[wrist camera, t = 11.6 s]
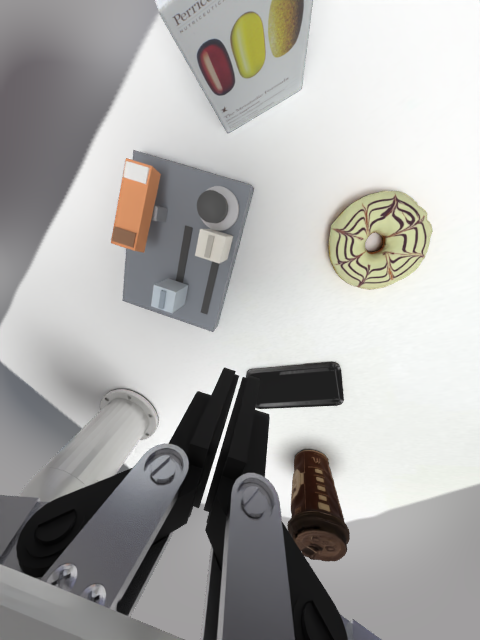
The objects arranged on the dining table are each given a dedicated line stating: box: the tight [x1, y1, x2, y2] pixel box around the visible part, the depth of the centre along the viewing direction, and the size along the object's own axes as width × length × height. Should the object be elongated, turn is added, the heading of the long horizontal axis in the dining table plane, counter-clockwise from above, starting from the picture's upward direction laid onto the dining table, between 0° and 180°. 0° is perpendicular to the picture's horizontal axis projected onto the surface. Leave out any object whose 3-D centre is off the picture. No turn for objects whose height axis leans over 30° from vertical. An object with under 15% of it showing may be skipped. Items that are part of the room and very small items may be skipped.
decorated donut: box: [329, 191, 432, 290], centre depth 27 cm, size 10×11×4 cm
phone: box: [246, 362, 344, 409], centre depth 38 cm, size 8×1×15 cm
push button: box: [197, 190, 228, 223], centre depth 26 cm, size 3×3×2 cm
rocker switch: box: [111, 158, 161, 253], centre depth 26 cm, size 9×3×2 cm, turn 164°
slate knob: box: [151, 279, 188, 313], centre depth 31 cm, size 3×3×4 cm
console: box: [123, 150, 254, 332], centre depth 31 cm, size 20×15×5 cm
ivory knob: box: [195, 229, 233, 263], centre depth 27 cm, size 3×3×4 cm
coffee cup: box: [288, 450, 349, 561], centre depth 38 cm, size 9×8×13 cm
